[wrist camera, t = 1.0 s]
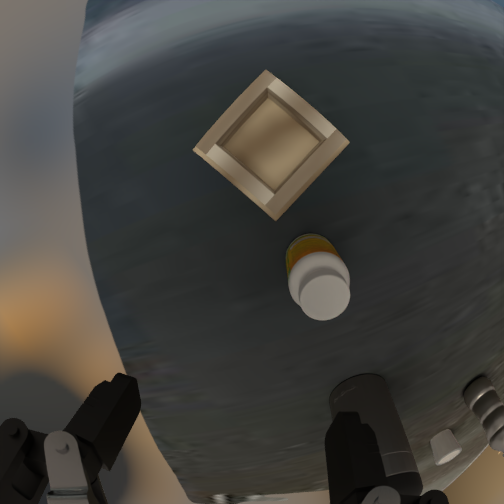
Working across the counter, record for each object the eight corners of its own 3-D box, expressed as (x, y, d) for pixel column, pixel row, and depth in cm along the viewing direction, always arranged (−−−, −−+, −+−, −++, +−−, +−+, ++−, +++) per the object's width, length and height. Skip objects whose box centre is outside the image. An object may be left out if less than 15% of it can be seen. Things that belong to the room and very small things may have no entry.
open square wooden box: (347, 143, 25) (362, 139, 21) (275, 219, 28) (276, 230, 24) (266, 73, 24) (264, 55, 19) (195, 150, 27) (179, 148, 22)
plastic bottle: (464, 380, 35) (508, 456, 16) (489, 367, 34) (535, 434, 15) (457, 401, 36) (493, 472, 17) (481, 388, 35) (520, 453, 16)
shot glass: (432, 433, 40) (441, 455, 33) (456, 423, 39) (466, 444, 33) (424, 447, 42) (432, 469, 35) (447, 438, 41) (455, 458, 35)
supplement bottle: (276, 246, 29) (277, 285, 20) (322, 223, 28) (344, 253, 19) (298, 287, 31) (306, 338, 21) (341, 266, 30) (367, 310, 20)
